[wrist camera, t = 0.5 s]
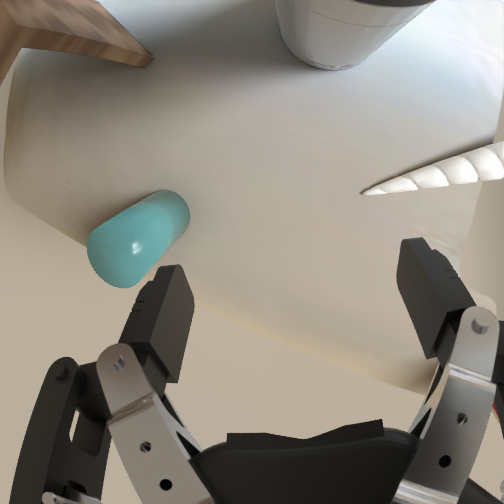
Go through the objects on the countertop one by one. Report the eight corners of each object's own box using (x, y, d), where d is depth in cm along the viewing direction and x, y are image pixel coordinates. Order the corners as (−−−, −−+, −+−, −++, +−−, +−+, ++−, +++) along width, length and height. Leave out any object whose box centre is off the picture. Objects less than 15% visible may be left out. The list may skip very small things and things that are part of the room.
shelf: (154, 58, 25) (17, 25, 8) (72, 156, 30) (-52, 201, 14) (97, 1, 22) (-18, -32, 5) (29, 94, 27) (-82, 112, 11)
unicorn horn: (353, 156, 27) (363, 163, 23) (525, 130, 21) (549, 135, 17) (363, 201, 29) (374, 216, 24) (529, 168, 23) (552, 177, 18)
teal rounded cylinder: (141, 189, 31) (81, 223, 21) (188, 190, 30) (138, 225, 21) (146, 236, 34) (94, 283, 24) (191, 239, 33) (148, 292, 23)
